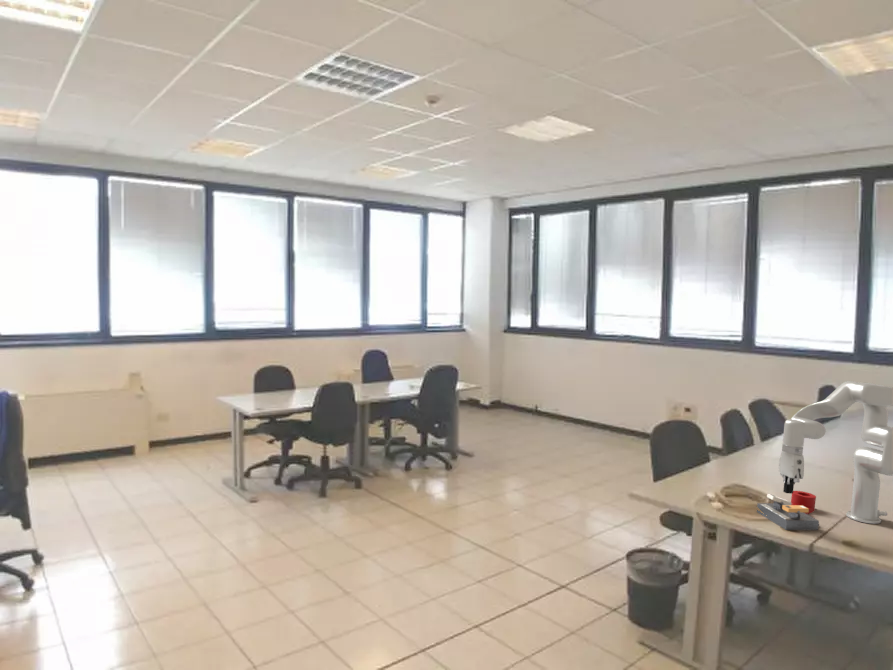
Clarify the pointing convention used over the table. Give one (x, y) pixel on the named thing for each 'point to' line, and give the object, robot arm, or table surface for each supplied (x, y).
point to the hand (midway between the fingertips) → (788, 492)
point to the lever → (804, 500)
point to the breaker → (778, 499)
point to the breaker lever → (795, 508)
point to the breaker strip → (787, 517)
